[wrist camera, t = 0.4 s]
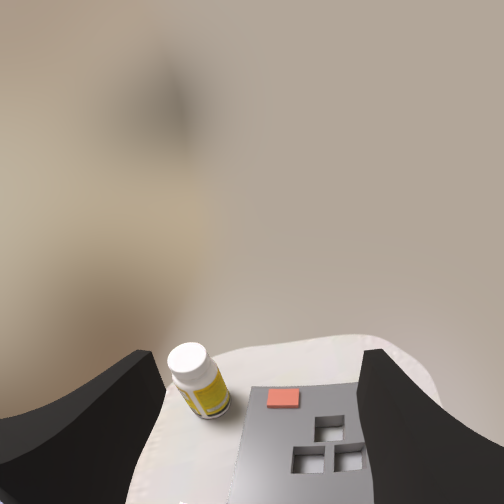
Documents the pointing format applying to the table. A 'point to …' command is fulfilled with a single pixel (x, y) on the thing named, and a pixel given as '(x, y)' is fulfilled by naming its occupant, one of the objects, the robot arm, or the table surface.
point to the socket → (299, 447)
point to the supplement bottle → (199, 380)
